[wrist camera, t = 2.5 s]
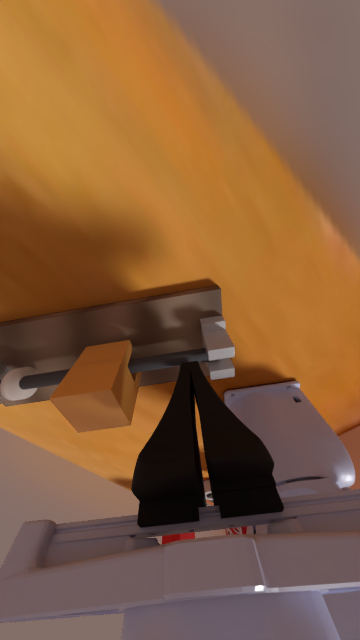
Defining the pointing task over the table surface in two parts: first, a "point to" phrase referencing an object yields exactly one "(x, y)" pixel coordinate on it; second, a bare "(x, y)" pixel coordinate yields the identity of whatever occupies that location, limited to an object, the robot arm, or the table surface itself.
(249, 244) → the table surface
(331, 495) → the robot arm
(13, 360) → the board
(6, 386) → the dark grey rod
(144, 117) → the table surface
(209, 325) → the grey forked rod holder
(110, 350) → the orange sliding block
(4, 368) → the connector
